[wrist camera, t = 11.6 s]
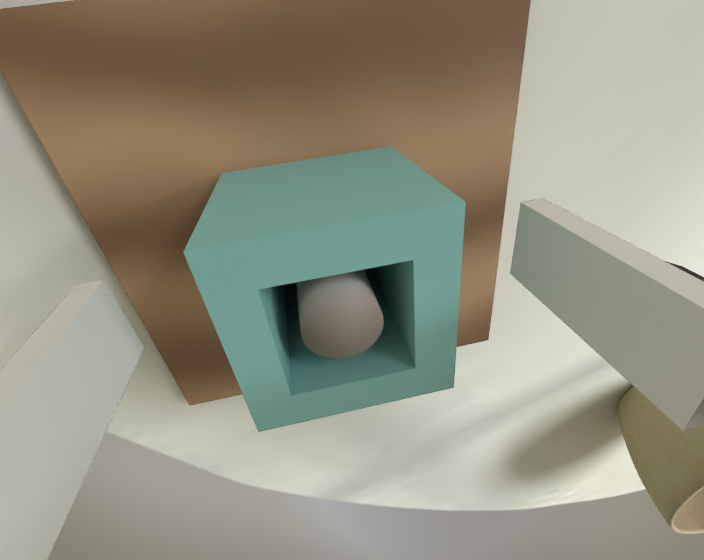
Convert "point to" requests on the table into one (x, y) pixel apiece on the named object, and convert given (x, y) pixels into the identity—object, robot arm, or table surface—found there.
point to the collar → (326, 260)
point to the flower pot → (666, 461)
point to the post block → (264, 135)
